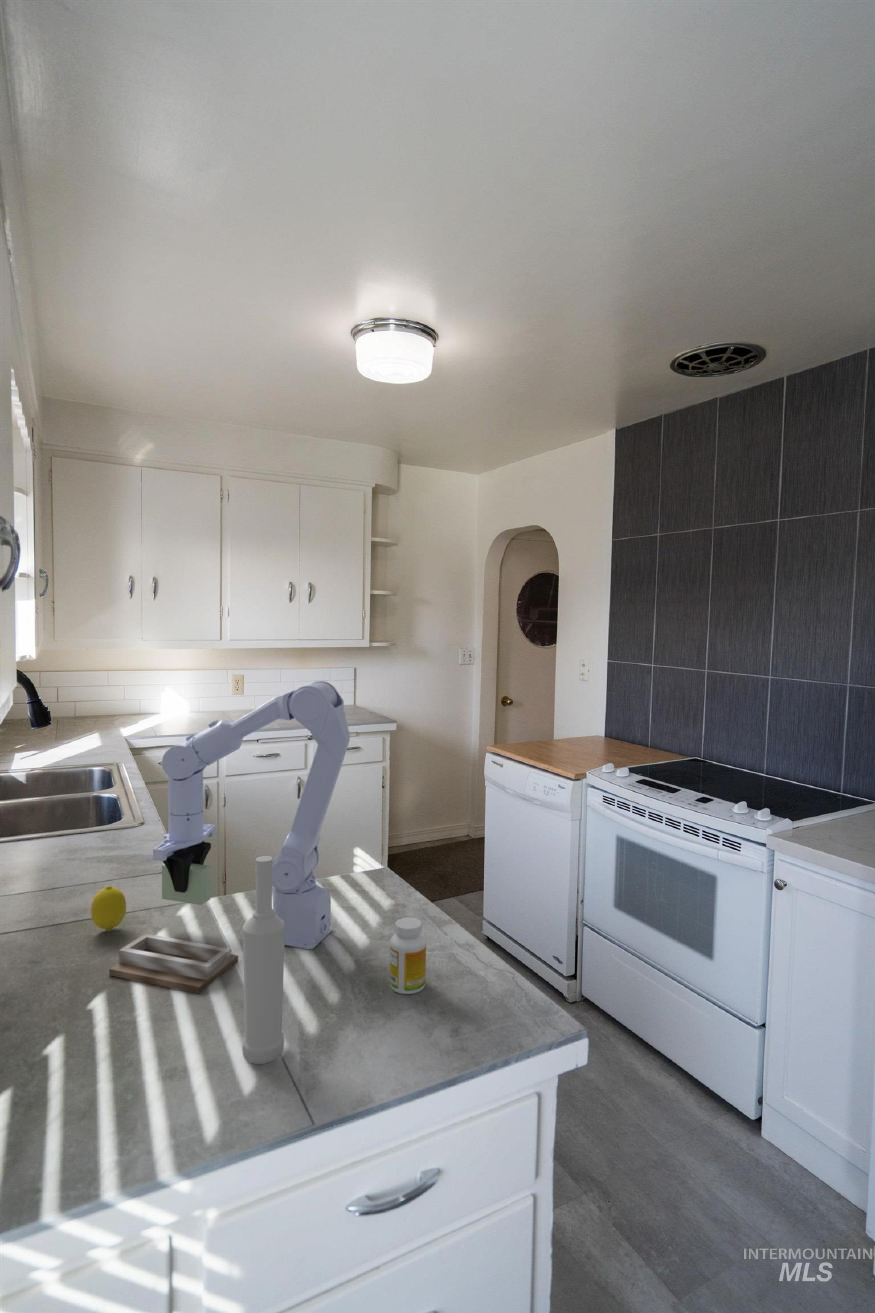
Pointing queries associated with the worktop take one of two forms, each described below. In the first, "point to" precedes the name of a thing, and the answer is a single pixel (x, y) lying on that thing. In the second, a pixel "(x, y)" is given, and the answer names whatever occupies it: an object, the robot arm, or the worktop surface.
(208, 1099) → the worktop surface
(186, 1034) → the worktop surface
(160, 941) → the track base
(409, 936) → the supplement bottle
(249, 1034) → the bottle
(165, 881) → the pale green rectangular block
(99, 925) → the lemon
